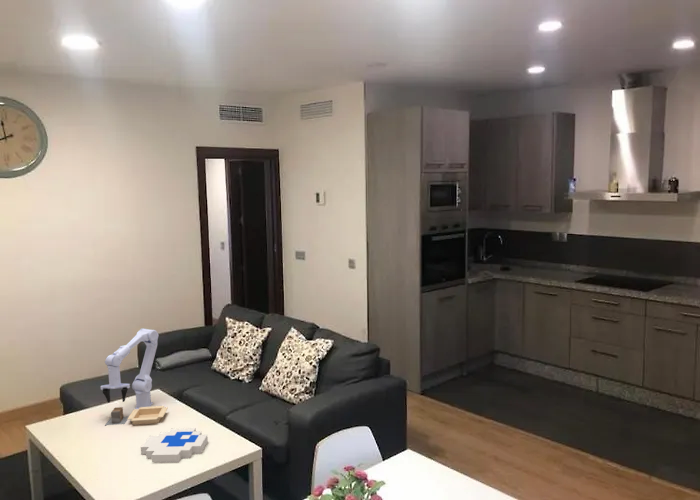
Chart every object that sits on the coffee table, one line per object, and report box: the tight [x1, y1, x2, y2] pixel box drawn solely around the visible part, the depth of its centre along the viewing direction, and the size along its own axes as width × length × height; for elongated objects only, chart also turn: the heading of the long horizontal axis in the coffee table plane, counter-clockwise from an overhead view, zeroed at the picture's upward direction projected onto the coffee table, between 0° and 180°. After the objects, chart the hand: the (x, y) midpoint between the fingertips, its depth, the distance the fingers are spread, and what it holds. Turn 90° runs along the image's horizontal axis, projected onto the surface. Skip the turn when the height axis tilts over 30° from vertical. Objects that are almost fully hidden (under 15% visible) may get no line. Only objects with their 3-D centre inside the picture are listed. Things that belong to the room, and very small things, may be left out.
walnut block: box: [110, 406, 124, 424], centre depth 310 cm, size 7×4×6 cm, turn 5°
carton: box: [127, 405, 169, 425], centre depth 311 cm, size 18×18×4 cm
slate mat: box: [104, 415, 130, 427], centre depth 310 cm, size 10×10×1 cm
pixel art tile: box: [140, 427, 209, 463], centre depth 277 cm, size 28×4×28 cm
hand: (116, 401), depth 313 cm, fingers open, 7 cm apart
